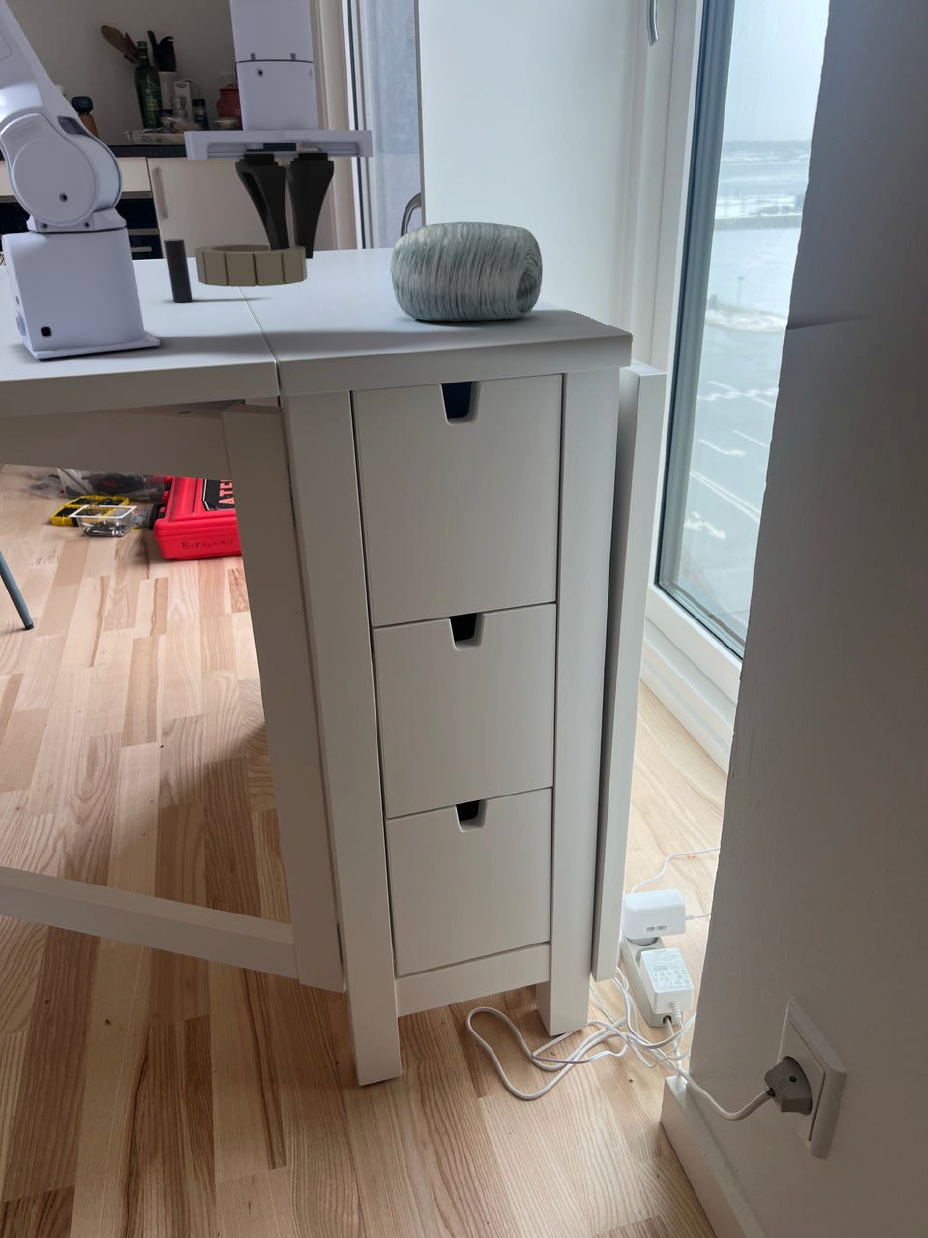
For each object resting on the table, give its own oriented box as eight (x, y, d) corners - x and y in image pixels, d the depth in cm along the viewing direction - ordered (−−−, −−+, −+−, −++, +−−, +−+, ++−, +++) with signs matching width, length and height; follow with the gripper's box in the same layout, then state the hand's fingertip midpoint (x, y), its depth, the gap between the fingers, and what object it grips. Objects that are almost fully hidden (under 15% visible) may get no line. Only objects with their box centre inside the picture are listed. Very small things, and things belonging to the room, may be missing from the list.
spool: (552, 271, 87) (526, 173, 80) (555, 335, 82) (528, 235, 74) (417, 306, 91) (379, 215, 83) (411, 369, 85) (371, 278, 78)
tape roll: (217, 289, 69) (213, 254, 68) (187, 277, 75) (183, 246, 74) (322, 281, 72) (320, 249, 71) (285, 271, 79) (282, 241, 78)
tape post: (176, 303, 96) (166, 241, 93) (171, 300, 97) (161, 239, 95) (195, 301, 97) (186, 239, 94) (189, 298, 98) (181, 238, 95)
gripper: (193, 56, 62) (220, 269, 68) (386, 62, 69) (394, 256, 75) (166, 64, 68) (193, 261, 74) (347, 69, 74) (358, 249, 80)
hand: (292, 258), depth 75 cm, fingers closed on tape roll, 1 cm apart
